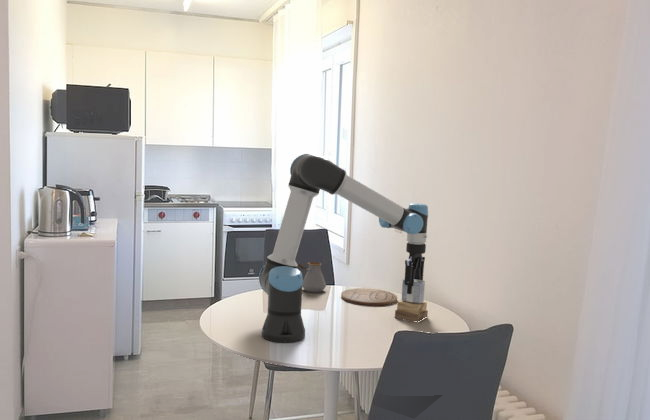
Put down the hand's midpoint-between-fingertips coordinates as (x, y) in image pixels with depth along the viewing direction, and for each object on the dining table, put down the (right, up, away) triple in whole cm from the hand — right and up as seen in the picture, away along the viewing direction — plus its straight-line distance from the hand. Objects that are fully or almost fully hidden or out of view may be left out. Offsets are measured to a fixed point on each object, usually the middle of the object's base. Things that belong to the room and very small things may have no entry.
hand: (412, 300), depth 227 cm
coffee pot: (-43, -2, +34) cm, 55 cm away
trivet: (-15, -4, +28) cm, 32 cm away
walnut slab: (0, -8, +1) cm, 8 cm away
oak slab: (0, -4, +1) cm, 4 cm away
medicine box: (0, -1, 0) cm, 1 cm away
